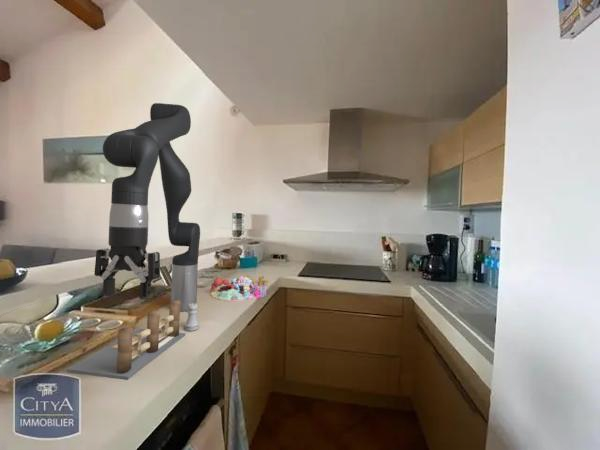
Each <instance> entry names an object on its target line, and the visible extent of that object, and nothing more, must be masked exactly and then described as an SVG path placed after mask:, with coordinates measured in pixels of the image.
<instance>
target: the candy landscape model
mask: <svg viewBox="0 0 600 450" xmlns="http://www.w3.org/2000/svg"><path fill="white" fill-rule="evenodd" d="M264 279H265V276H263V275H259V276H258V281H257V280H256V279H255V278H253V277H252V276H250V275H248V274H244V275H240V276H239V277H238V278H236V277H235V278H232V280H231V282H229V279H227V278H226V279H223V278H222V277H215V278H214V279H213V283H212V284H211V285H210V288H209V290H210V296H211V298H214V299H216V300H219V301H224V302H243V301H245V300H258V299H261V298H264V297H265V296H266V295H267V293H268V291H267V290H266V287H267V286H268V283H269V279H265V280H264ZM222 285H224V286H222ZM218 287H219V289H217V288H218ZM215 289H216V290H215Z"/></svg>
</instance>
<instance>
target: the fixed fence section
mask: <svg viewBox="0 0 600 450" xmlns="http://www.w3.org/2000/svg"><path fill="white" fill-rule="evenodd" d="M160 313H161V312H160V311H158V310H152V311H149V312H147V317H146V318H147V322H146V329H151V331H150V334H149V335H148V336H147V342H150V347H149V348H148V349H146V352H147V353H154V352H157V351H158V344H159V340H161V339H162V338H165V337H167V335H168V334H169V336H170V337H176V336H178V335H179V333H180V317H181V316H180V313H181V311H180V301H178V300H174V301H171V300H170V301H169V314H168V316H166V317H163V318H161V320H160ZM160 329H161V330H160ZM159 331H161V333H160V334H159Z"/></svg>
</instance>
